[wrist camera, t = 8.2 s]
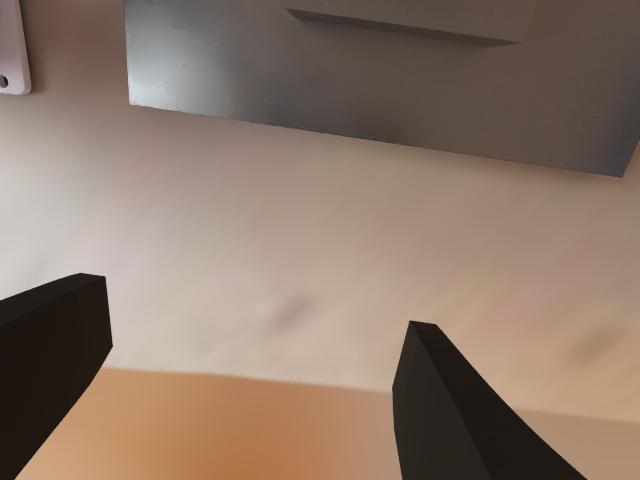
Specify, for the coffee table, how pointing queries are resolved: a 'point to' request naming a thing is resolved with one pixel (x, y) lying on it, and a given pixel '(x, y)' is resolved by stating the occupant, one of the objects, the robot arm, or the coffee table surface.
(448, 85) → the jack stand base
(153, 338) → the coffee table surface
